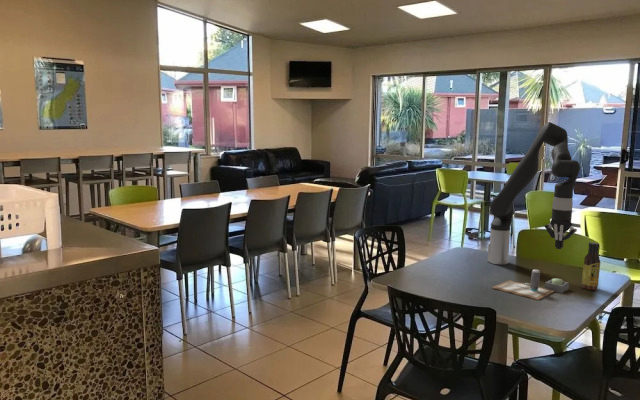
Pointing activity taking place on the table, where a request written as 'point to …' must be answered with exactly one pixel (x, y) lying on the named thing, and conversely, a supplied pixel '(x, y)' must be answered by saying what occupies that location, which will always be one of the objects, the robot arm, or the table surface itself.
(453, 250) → the table surface
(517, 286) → the clipboard
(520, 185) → the robot arm
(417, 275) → the table surface
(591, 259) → the sauce bottle
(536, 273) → the cylinder
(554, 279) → the button
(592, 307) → the table surface
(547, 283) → the button housing
